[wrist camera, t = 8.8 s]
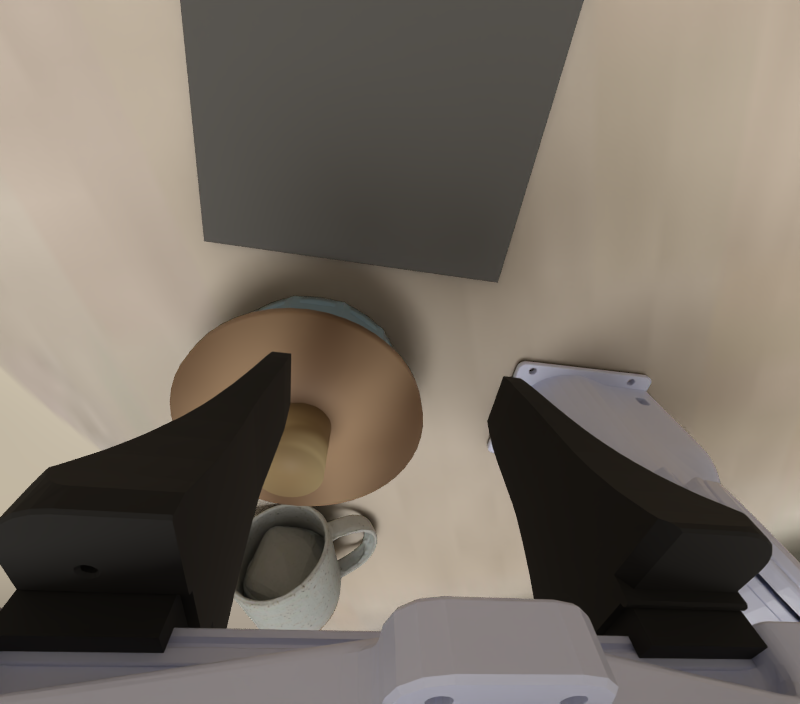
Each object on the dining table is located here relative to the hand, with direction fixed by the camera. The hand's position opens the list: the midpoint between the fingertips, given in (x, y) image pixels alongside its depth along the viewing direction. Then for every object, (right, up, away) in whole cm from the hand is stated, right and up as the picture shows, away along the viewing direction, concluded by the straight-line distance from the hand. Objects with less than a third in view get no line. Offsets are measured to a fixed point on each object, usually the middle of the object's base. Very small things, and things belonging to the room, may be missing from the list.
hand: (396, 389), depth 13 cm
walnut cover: (-5, -2, +8) cm, 10 cm away
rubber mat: (-1, +12, +5) cm, 13 cm away
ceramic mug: (-7, -14, +20) cm, 26 cm away
